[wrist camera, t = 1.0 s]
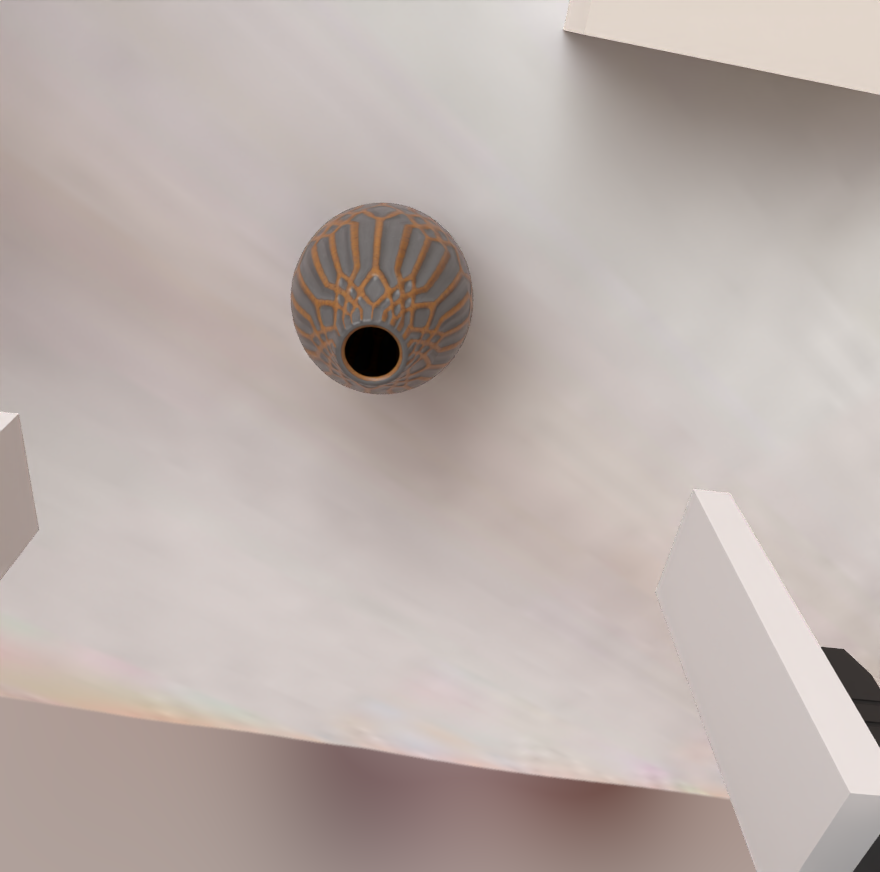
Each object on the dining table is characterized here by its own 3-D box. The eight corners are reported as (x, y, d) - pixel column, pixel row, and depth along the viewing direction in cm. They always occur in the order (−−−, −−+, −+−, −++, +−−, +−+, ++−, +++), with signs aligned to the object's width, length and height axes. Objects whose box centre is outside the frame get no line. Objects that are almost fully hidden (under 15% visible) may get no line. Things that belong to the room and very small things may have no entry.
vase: (497, 302, 32) (513, 394, 25) (360, 369, 34) (336, 474, 27) (421, 154, 29) (414, 207, 22) (275, 235, 31) (221, 311, 23)
